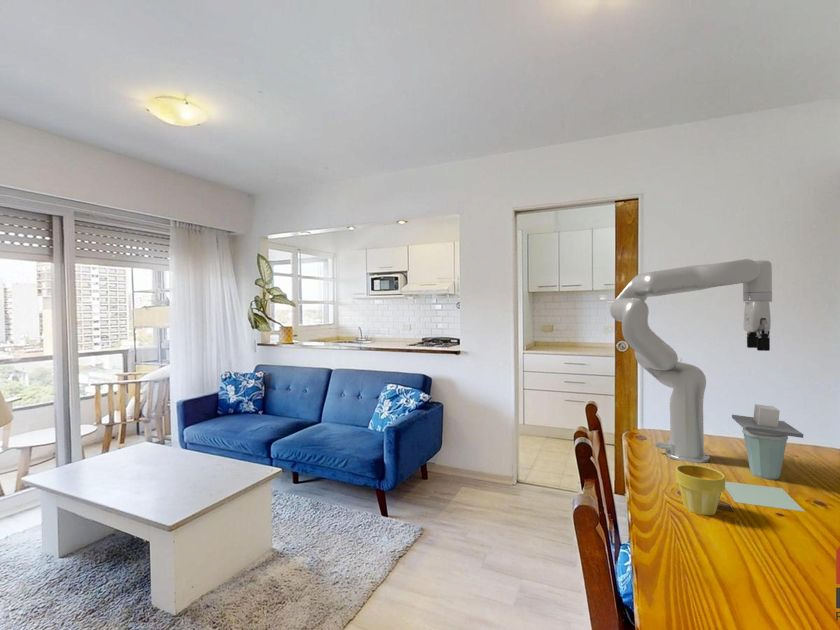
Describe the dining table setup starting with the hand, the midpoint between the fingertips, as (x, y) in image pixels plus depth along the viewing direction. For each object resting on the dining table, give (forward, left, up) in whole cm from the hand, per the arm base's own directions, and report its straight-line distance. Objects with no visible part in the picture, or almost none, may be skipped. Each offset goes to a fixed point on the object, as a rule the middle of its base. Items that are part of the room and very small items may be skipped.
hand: (757, 349), depth 138 cm
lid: (-4, -19, -21) cm, 29 cm away
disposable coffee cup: (-4, -19, -36) cm, 41 cm away
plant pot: (-26, -49, -36) cm, 66 cm away
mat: (-10, -35, -36) cm, 51 cm away
